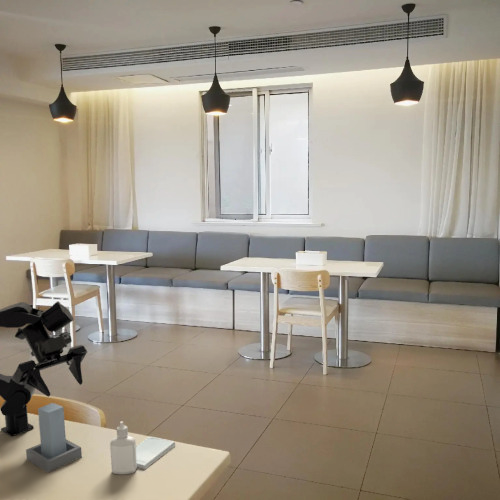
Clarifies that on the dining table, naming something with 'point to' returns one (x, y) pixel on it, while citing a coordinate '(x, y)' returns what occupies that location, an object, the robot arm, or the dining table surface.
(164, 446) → the hard drive
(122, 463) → the eye dropper bottle
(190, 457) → the dining table surface
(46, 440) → the block
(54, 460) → the frame
